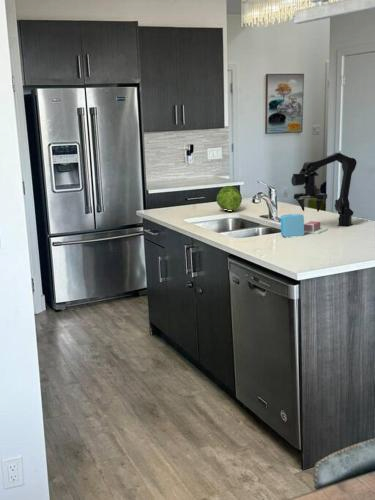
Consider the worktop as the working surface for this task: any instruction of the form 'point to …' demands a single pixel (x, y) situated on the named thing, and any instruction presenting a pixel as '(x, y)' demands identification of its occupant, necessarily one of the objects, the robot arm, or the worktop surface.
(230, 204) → the lettuce
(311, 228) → the card deck
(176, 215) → the worktop surface
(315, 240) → the worktop surface
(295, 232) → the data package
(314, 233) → the mat
